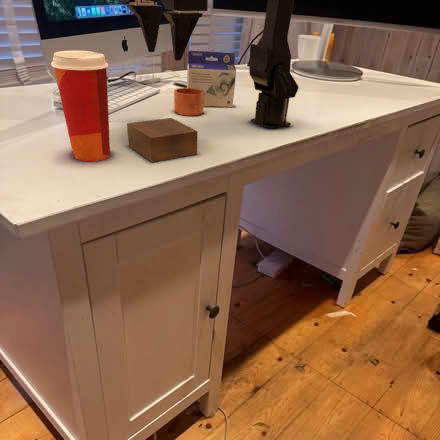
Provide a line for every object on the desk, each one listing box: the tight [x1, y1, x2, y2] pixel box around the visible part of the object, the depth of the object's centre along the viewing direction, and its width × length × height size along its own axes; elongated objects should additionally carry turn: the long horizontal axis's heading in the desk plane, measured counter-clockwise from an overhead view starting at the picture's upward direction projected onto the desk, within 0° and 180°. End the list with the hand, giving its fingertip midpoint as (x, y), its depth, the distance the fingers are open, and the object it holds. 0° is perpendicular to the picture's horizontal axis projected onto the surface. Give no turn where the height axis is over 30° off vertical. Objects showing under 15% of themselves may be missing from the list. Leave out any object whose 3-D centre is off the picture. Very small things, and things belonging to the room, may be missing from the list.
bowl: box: [173, 87, 205, 117], centre depth 94 cm, size 7×7×4 cm
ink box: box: [186, 50, 237, 108], centre depth 98 cm, size 12×2×12 cm, turn 102°
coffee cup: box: [50, 50, 111, 162], centre depth 66 cm, size 8×8×15 cm
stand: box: [126, 117, 199, 163], centre depth 73 cm, size 9×9×4 cm
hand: (164, 56), depth 73 cm, fingers open, 9 cm apart
